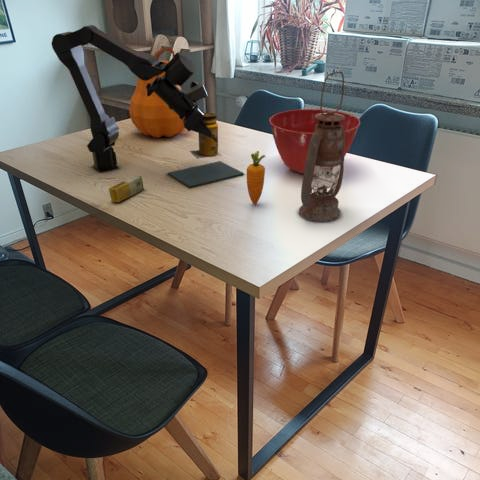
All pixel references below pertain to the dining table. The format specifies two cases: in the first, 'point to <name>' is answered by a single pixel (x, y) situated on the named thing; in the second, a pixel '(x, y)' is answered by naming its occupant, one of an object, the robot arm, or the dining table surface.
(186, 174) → the placemat
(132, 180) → the medication box
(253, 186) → the carrot
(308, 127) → the mixing bowl
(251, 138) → the dining table surface
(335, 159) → the lantern
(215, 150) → the condiment
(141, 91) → the decorative pumpkin
